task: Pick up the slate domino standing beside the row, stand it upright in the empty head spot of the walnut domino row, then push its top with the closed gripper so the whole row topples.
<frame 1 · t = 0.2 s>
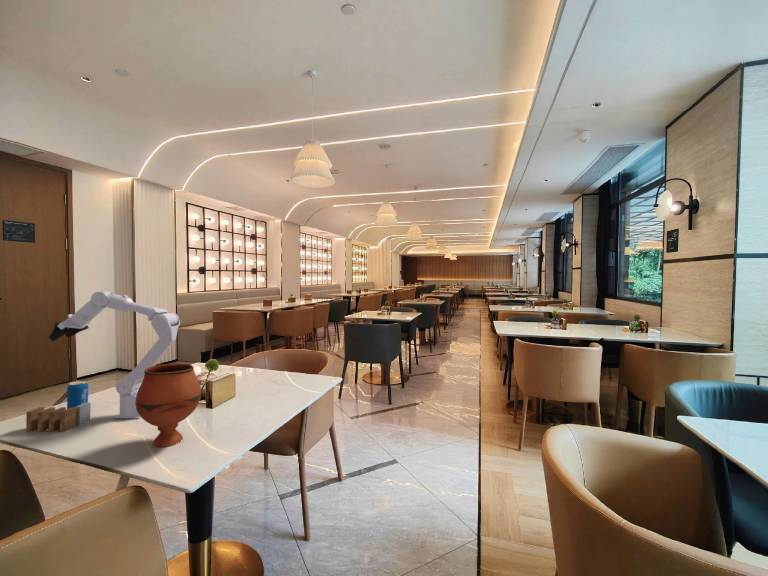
hand: (59, 337, 141), 31 cm above the table, tool tilted 45°, fingers open, 7 cm apart
walnut tile 3: (57, 429, 128), on the table
walnut tile 2: (68, 429, 128), on the table
walnut tile 4: (46, 429, 128), on the table
beverage can: (77, 412, 145), on the table
goblet: (168, 442, 120), on the table
walnut end tile: (35, 429, 128), on the table
slate head tile: (82, 423, 134), on the table
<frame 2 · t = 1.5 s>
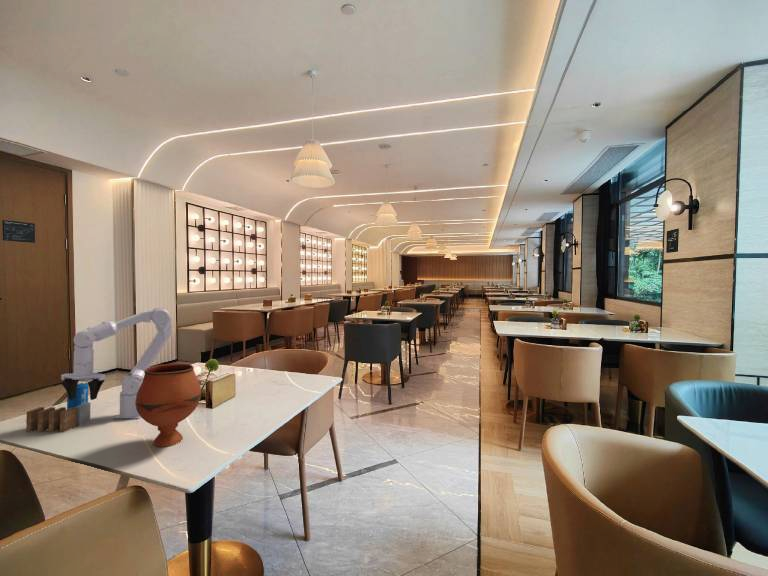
hand: (83, 399, 134), 9 cm above the table, tool pointing down, fingers open, 7 cm apart
nothing on the table moved.
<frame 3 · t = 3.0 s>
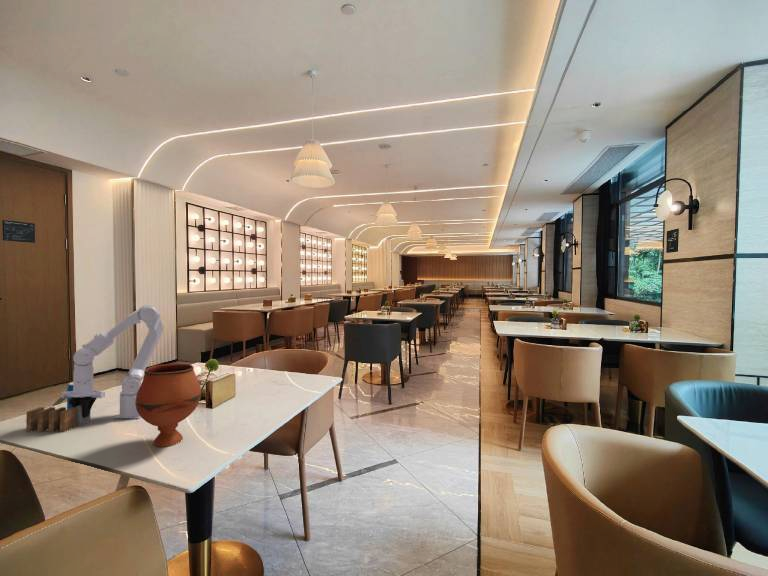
hand: (82, 416, 134), 2 cm above the table, tool pointing down, fingers closed on slate head tile, 2 cm apart
slate head tile: (82, 423, 134), on the table, touching gripper
everything else where it was.
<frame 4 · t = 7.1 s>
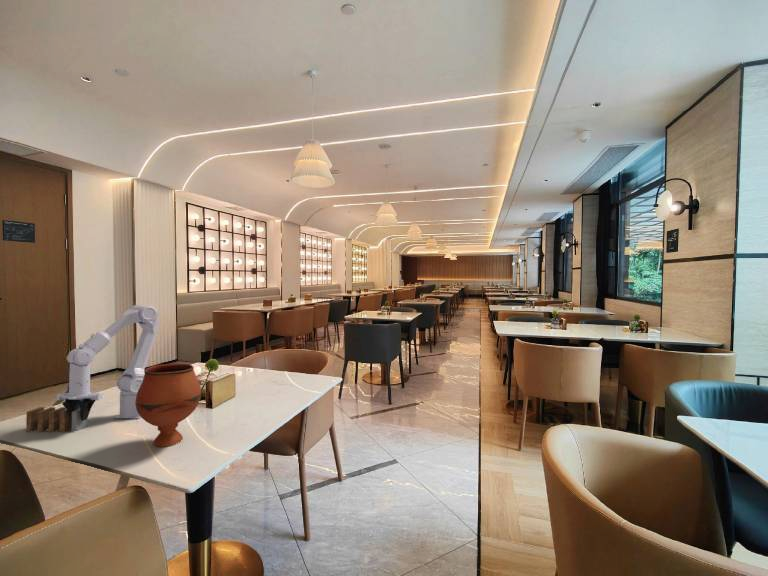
hand: (79, 419, 129), 3 cm above the table, tool pointing down, fingers open, 3 cm apart
walnut tile 2: (68, 429, 128), on the table, touching gripper
slate head tile: (79, 428, 129), on the table
everything else where it was.
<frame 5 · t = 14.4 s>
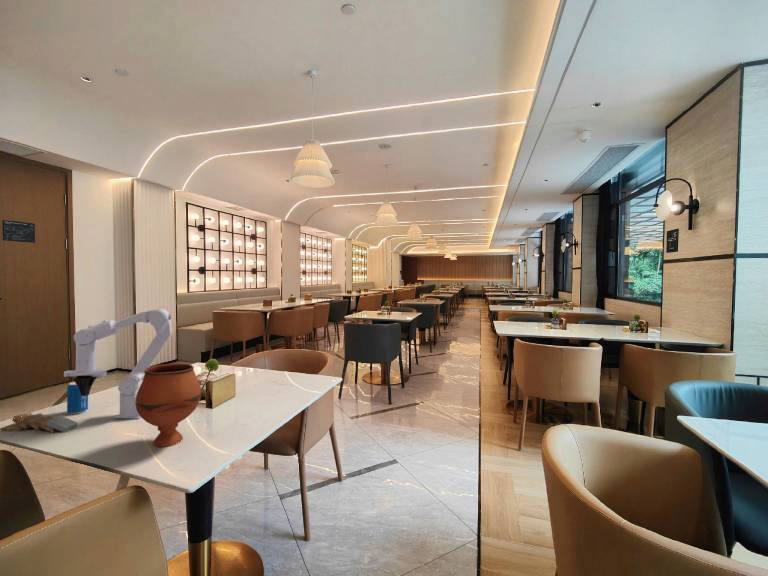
hand: (85, 395, 137), 9 cm above the table, tool pointing down, fingers closed
walnut tile 3: (46, 425, 129), point 1 cm above the table, tilted 69°, touching walnut tile 2
walnut tile 2: (59, 427, 128), point 1 cm above the table, tilted 70°, touching slate head tile, walnut tile 3
walnut tile 4: (34, 425, 129), point 1 cm above the table, tilted 71°, touching walnut end tile
walnut end tile: (27, 428, 128), on the table, tilted 90°, touching walnut tile 4
slate head tile: (71, 427, 128), point 1 cm above the table, tilted 68°, touching walnut tile 2
everything else where it was.
at the end: walnut end tile tilted 90°; slate head tile tilted 68°; the gripper is holding nothing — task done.
